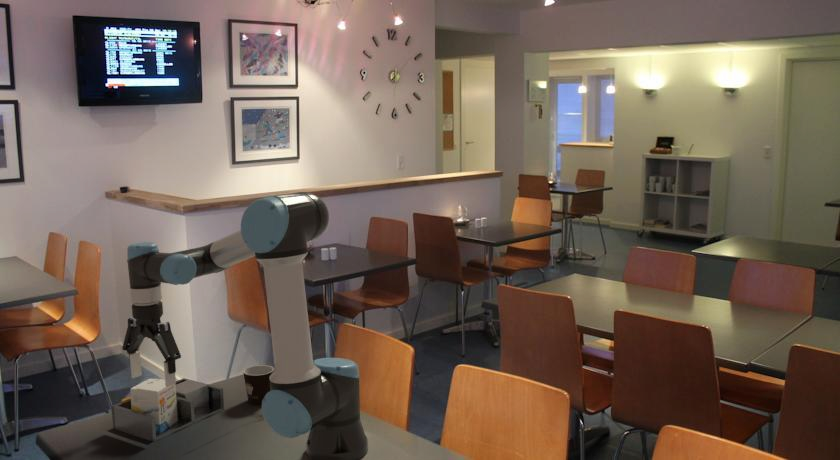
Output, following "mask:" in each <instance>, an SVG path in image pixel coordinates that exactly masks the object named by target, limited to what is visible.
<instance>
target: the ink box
mask: <svg viewBox="0 0 840 460" xmlns="http://www.w3.org/2000/svg"><path fill="white" fill-rule="evenodd" d="M129 392H130V396H131V408H132V410H133V411H137V412H140V413H143V414H146V415H150V416H153V417H155V427H156V433H159V434H160V433H162V432H163V431H165V430H166V429H167V428H169V427H170V426H172V425H173V424H174V423H176V422H177V421H178V415H177V400H176V385H175V384H173V385H171V386H168V387H166V385H165V378H163V379H162V378H148V379H146V380H144V381H142V382H140V383H138V384H137V385H134V386H132V387H131V388H130V391H129Z"/></svg>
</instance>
